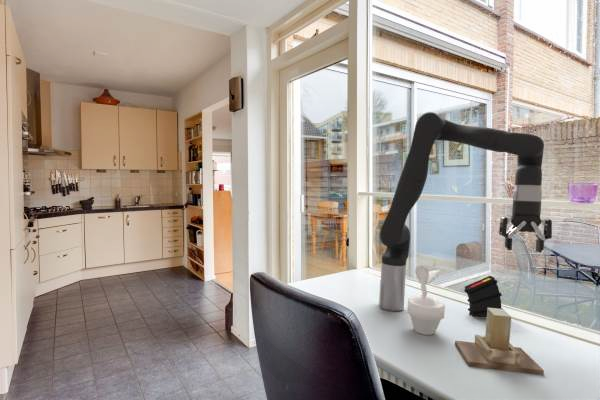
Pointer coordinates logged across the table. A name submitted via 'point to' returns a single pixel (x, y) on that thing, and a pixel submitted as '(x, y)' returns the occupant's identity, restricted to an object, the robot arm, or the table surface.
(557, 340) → the table surface
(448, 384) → the table surface
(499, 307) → the magazine
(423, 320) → the potted plant
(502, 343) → the skincare box
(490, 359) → the socket board
